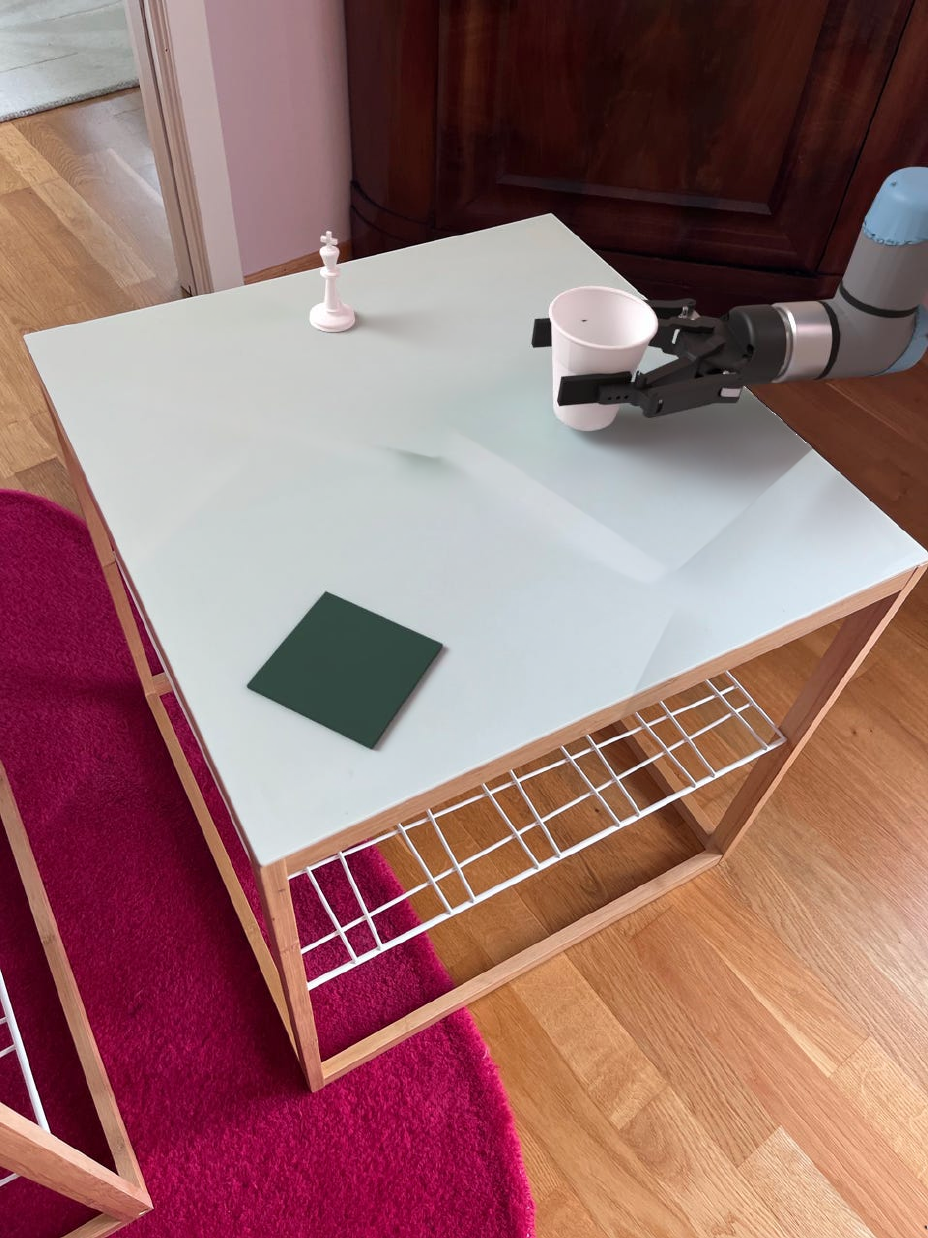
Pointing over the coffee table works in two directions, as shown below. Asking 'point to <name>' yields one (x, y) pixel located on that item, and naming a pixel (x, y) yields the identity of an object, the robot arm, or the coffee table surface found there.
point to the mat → (346, 668)
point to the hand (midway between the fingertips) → (546, 361)
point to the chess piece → (331, 293)
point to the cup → (596, 344)
